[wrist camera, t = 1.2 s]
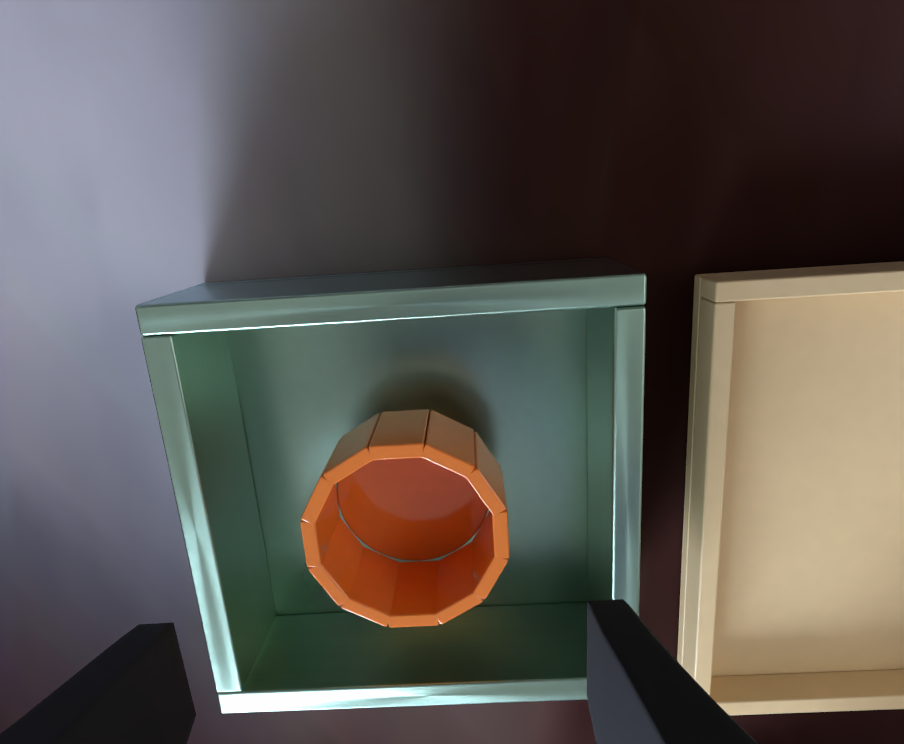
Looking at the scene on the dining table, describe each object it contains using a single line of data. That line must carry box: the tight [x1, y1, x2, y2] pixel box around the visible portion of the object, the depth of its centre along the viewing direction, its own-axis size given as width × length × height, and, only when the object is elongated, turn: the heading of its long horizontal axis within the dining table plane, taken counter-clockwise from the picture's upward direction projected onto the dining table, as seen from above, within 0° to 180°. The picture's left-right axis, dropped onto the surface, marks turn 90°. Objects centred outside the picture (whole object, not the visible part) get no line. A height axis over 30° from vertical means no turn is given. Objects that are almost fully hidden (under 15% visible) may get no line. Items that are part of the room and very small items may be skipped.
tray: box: [677, 261, 904, 715], centre depth 20 cm, size 15×10×2 cm
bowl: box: [300, 409, 510, 628], centre depth 18 cm, size 5×5×4 cm
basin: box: [136, 257, 647, 713], centre depth 18 cm, size 13×13×4 cm
